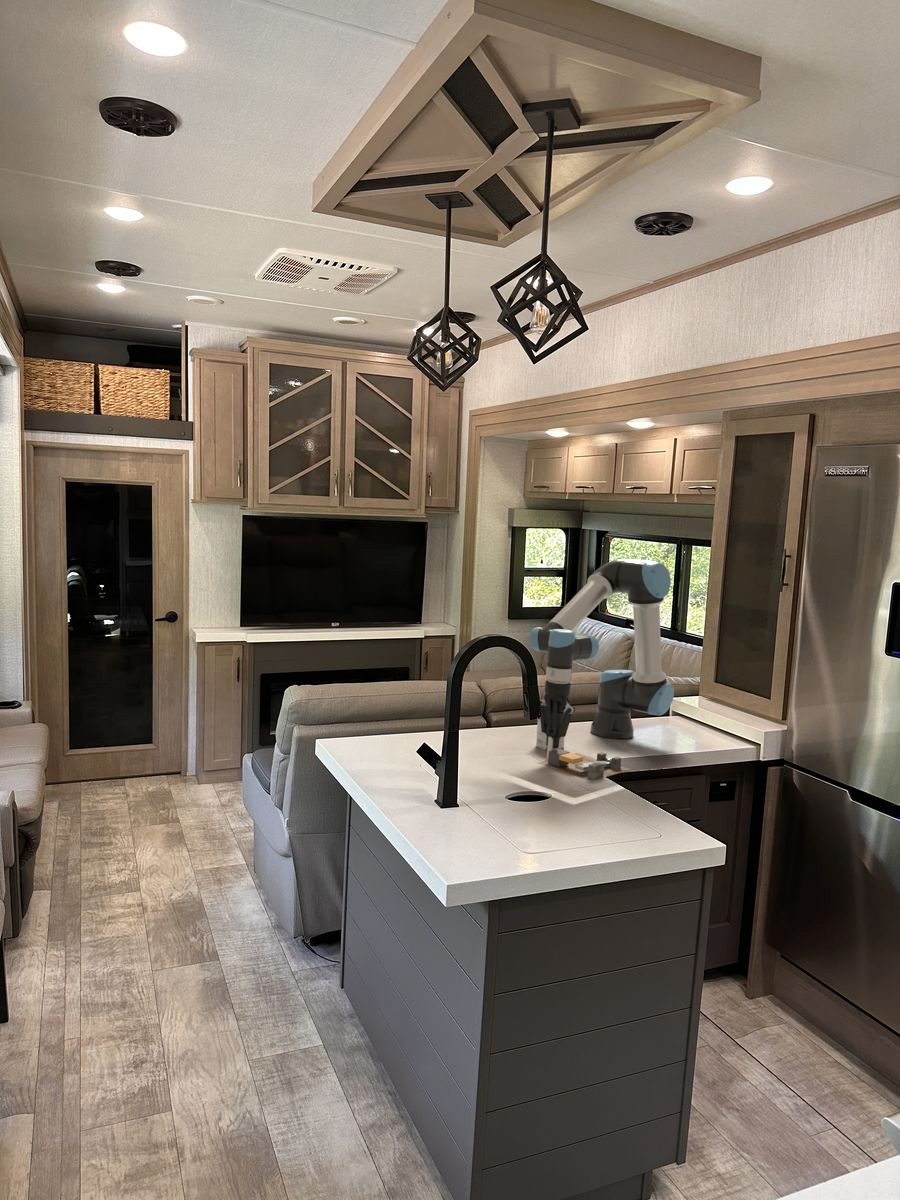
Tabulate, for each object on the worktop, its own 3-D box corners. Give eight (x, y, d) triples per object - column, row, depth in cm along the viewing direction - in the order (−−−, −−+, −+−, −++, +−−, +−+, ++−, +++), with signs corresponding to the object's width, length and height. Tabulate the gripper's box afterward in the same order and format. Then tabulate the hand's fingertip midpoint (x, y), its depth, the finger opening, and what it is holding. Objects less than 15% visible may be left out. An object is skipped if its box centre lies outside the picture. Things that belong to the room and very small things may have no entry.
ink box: (564, 756, 265) (567, 719, 263) (551, 757, 262) (555, 721, 261) (546, 748, 272) (549, 713, 271) (534, 750, 269) (537, 714, 268)
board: (576, 757, 264) (578, 741, 263) (630, 774, 250) (631, 757, 249) (536, 767, 250) (538, 750, 249) (591, 785, 236) (592, 767, 235)
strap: (605, 763, 253) (606, 757, 253) (614, 766, 251) (614, 760, 251) (574, 768, 242) (575, 762, 242) (583, 771, 240) (583, 764, 240)
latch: (558, 760, 252) (559, 748, 252) (582, 768, 246) (583, 756, 245) (547, 763, 249) (548, 751, 248) (572, 771, 242) (573, 758, 242)
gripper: (533, 678, 250) (526, 754, 253) (567, 686, 241) (560, 765, 243) (549, 676, 256) (542, 750, 258) (583, 684, 246) (576, 761, 249)
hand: (551, 757), depth 251 cm, fingers closed
